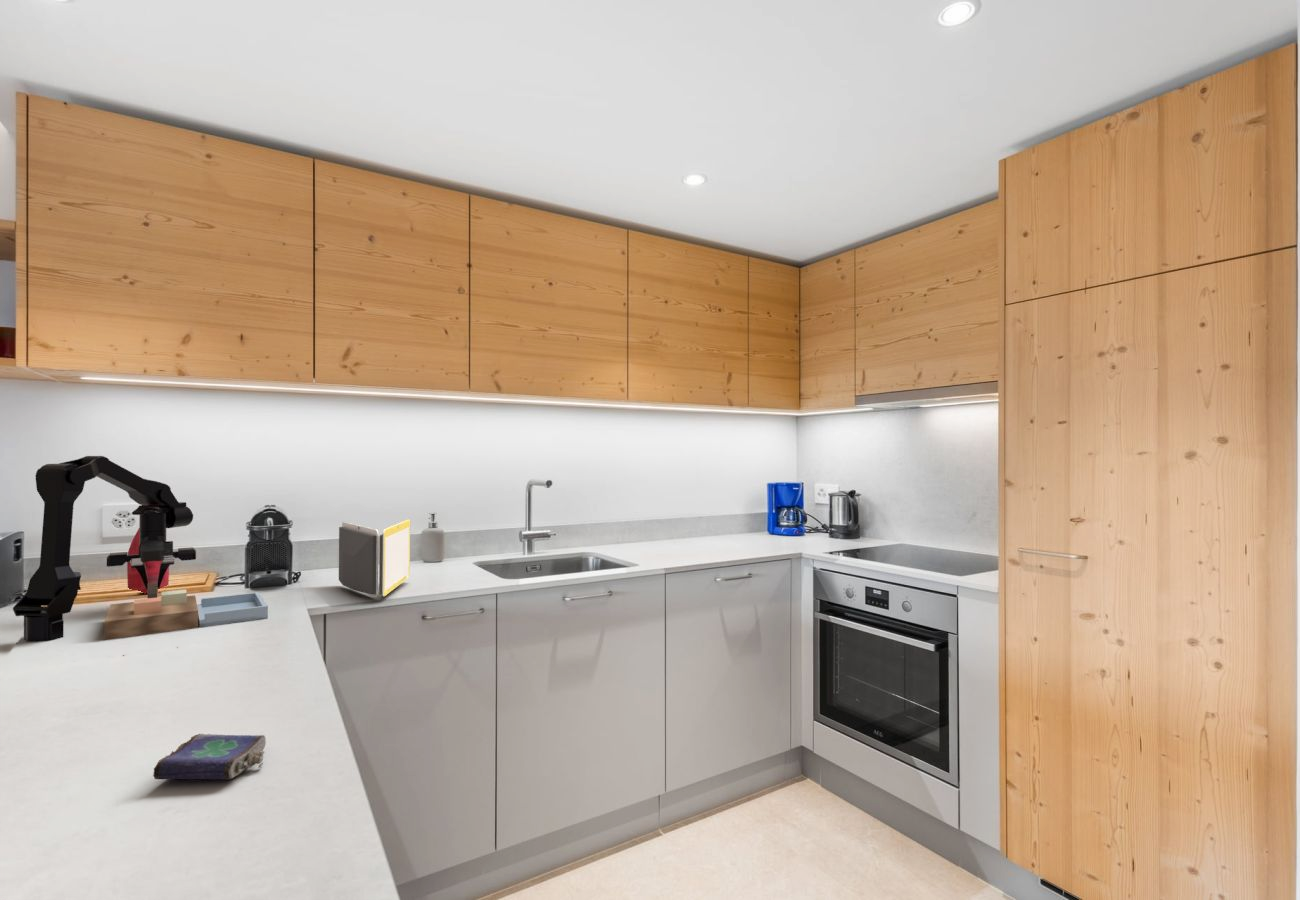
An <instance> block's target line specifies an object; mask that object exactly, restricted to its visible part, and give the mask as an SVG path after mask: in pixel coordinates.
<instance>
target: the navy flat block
mask: <svg viewBox="0 0 1300 900" xmlns="http://www.w3.org/2000/svg"><path fill="white" fill-rule="evenodd" d="M266 744H267V741H266V736H265V735H264V734H263V735H261V734H260V735H258V734H257V735H250V734H248V735H247V734H245V735H243V734H237V735H235V734H216V733H215V734H211V733H206V734H205V733H198V734H195V735H193V736H191V737H190V739H189V740H187V741H185V742H183V743H181V744H180V745H179V746H178V747H177V749H176V750H175V751H174V750H172V751H171V753H170V754H169V755H165V756H164V757H162V758H161V759H159V760H158V762H157V763H156V765H155V767H153V773H152V774H153V777H154V780H190V779H191V780H194V779H195V780H197V779H199V780H232V779H234V778H235V777H238V776H239V775H241V774H242V773H243V772H244V771H246V770H247V769H250V768H252V767H253V766H254V765H255V766H256V764H257V765H258V768H259V769H260V768H262V766H263V765H264V762H263V760H264V754H265V751H264V749H265V747H266Z"/></svg>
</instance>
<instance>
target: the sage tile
mask: <svg viewBox="0 0 1300 900" xmlns="http://www.w3.org/2000/svg"><path fill="white" fill-rule="evenodd" d="M160 593H161V595H160V597H161V606H164V605H173V604H181V603H187V596H188V595H187V589H185V588H184V589H176V590H168V591H166V590H165V591H162V592H160Z"/></svg>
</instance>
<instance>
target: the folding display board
mask: <svg viewBox="0 0 1300 900" xmlns="http://www.w3.org/2000/svg"><path fill="white" fill-rule="evenodd" d="M382 531H383V532H382V534H380V535H379V531H378V529H376V528H372V527H368V526H364V525H359V524H356V523H355V524H354V523H351V522H346V521H342V523H341V526H339V527H338V580H339V582H340V584H341V585H342V586H343V587H346V588H348V589H350V590H352V591H355V592H359V593H364V594H367V595H373V596H376V597H377V596H378V594H379V596H382V597H386V596H387V595H388V594H390V593H391V592H392V591H393V590H394V589H396V588H398V587H399V586H400V585H401V584H402V583H404V582H405V581H406V580H407V579H409V578H410V576H411V575H410V574H411V573H410V572H411V567H410V566H411V563H410V562H411V520H410V518H409V519H406V520H403V521H401V522H399V523H397V524H396V523H395V524H394V525H391V526H389V527H387V528H385V529H383V530H382Z"/></svg>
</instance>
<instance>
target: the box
mask: <svg viewBox="0 0 1300 900" xmlns="http://www.w3.org/2000/svg"><path fill="white" fill-rule="evenodd" d="M197 607H198V628H204V627H210V626H211V627H212V626H217V625H226V624H233V623H240V622H249V621H255V620H264V619H265V620H266V619H269V615H268V613H269V609H268V608H269V606H268V604H267V602H266V601H265V599H264V597H263V596H262V595H261V593H260V592H258V591H256V592H247V593H241V594H240V593H239V594H231V595H221V596H220V595H219V596H212V597H204V598H203V597H202V598H200V604H197Z"/></svg>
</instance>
